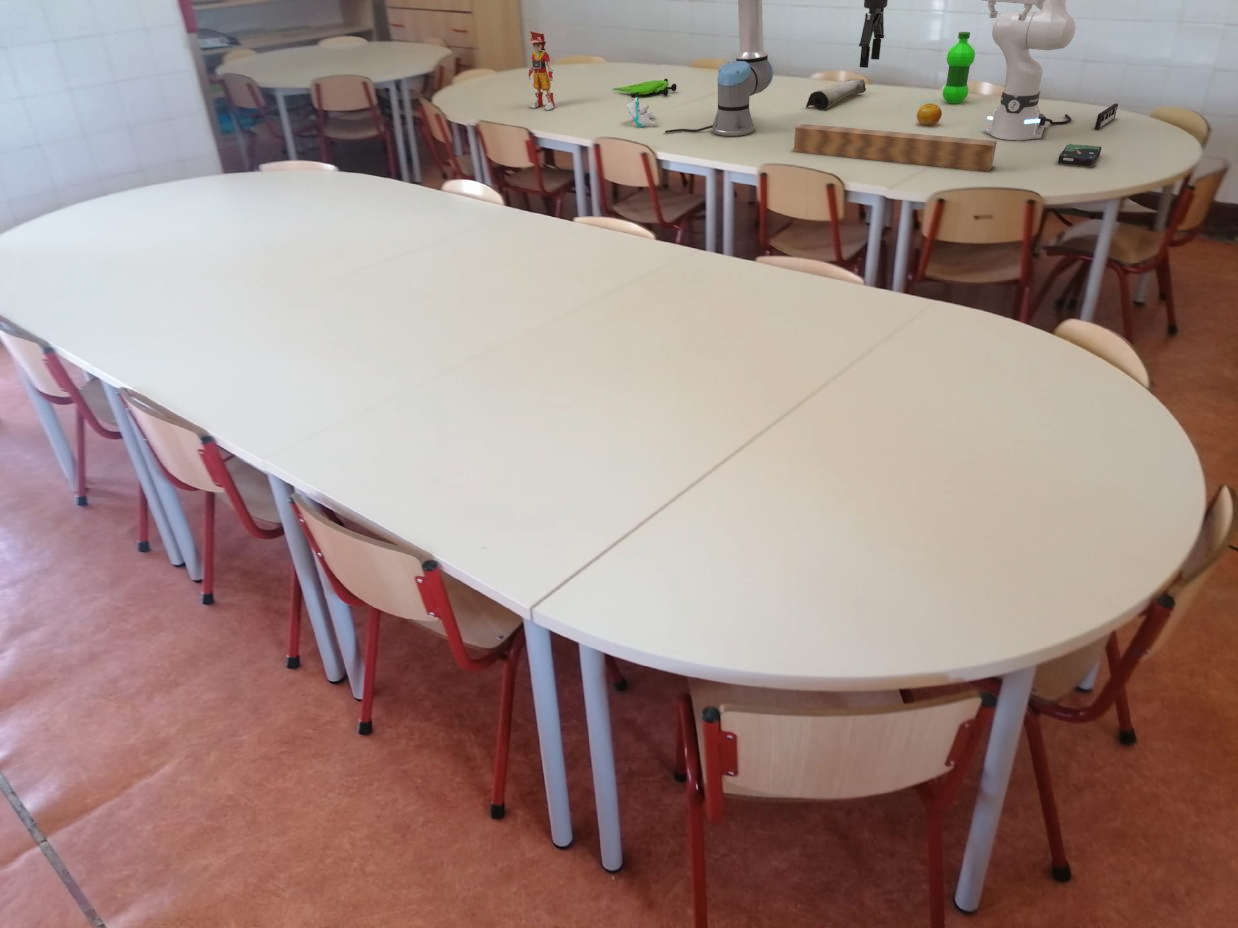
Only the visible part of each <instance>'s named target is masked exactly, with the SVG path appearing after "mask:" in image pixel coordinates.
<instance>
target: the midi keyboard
mask: <svg viewBox="0 0 1238 928" xmlns="http://www.w3.org/2000/svg"><path fill="white" fill-rule="evenodd" d="M1118 106H1119V103H1114V104H1112V105H1110V106H1109V107H1107V108H1106V109H1104V110H1103V111H1101V112H1099V113H1098V114H1097V116H1096V120H1095V121H1096V122H1095V126H1094V130H1100V129H1101V128H1102V127H1103V126H1104V125H1106V124H1108V123H1109V122H1111V121H1112V120H1113V119H1115V118H1116V115H1117V111H1118Z"/></svg>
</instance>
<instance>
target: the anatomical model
mask: <svg viewBox="0 0 1238 928" xmlns="http://www.w3.org/2000/svg"><path fill="white" fill-rule="evenodd" d="M625 106H626V109H627V113H628V114H629V116H631V118H632V120H633V121H634V123H635V125H636V126H637V127H639V128H644V127H645V126H655V125H657V121H652V120H651V119H654V117H655V114H654V113H652V111H648V109H649V108H650V105H645V106H644V107H642V108H640V100H639V98H638V97H634V98H633V100H632V101H631V102H628V103H626V105H625Z"/></svg>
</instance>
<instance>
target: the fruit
mask: <svg viewBox="0 0 1238 928" xmlns="http://www.w3.org/2000/svg"><path fill="white" fill-rule="evenodd" d="M942 116H943V111H942V109H941V107H940V106H939V105H937V104H936V103H926V104H923V105H921V106H920V107H919V108H918V110H917V112H916V119H917V121H918V122H919V123H920V124H921V125H923V126H932V125H935V124H937V123H938V122H939V121H940V120H941V118H942Z"/></svg>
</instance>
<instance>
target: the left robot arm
mask: <svg viewBox="0 0 1238 928" xmlns="http://www.w3.org/2000/svg"><path fill="white" fill-rule="evenodd" d="M888 3H889V2H888V0H863V7H864V8H865V9H868V12H866V13H865V15H864V22H863V27H862V32H861V35H860V41H859V43H858V47H861V49H860V59H859V68H863V69H865V68H866V69H867V68H869V61H870V60H876V61H877V60H878V61H879V60H880V55H881V46H882V39H885V27H884V23H885V21H884V19H885V18H884V13H885V8H887V7H888ZM737 9H738V35H739V36H738V37H739V52H738V54H737V55H736V57H735V61H731V62H726V63H724V64H722V65H720V67H719V68H718V70H717V71H718V73H717V74H718V75H717V111H716V114H715V118H714V120H713V124H711V125H708V126H703V127H702V128H695V129H694V128H693V129H692V128H675V129H667V130H664V133H665V134H669V133H676V132H689V133H697V132H701V131H705V130H708V129H712V133H713V134H715V135H717V136H721V137H741V136H746V135H750V134H752V133H754V127H755V126H754V122H753V118H752V115H751V111H750V97H752V96H754V95H757V94H759V93H762V92H763V91H764V90H766V89H767V88H768V87H769V86H770V85H771V83H772V81H773V78H774V67H773V65H772V63H771V62H770V60H769V58H768V57H769V56H768V52H767V51H766V50H765V49H764V25H763V24H764V20H763V0H737ZM871 40H872V45H871V46H872V47H871V46H870V44H871ZM870 52H871V55H870Z"/></svg>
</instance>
